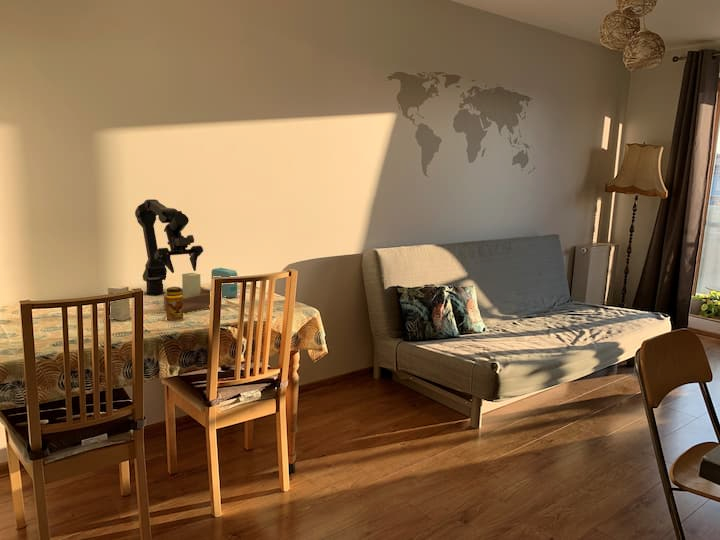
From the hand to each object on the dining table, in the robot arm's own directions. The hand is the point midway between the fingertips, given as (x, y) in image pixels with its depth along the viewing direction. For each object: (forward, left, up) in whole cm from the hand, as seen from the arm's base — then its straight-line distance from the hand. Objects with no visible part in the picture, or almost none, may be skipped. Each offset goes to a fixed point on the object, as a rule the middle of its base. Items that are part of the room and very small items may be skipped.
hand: (184, 271), depth 236 cm
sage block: (+3, +1, -15) cm, 15 cm away
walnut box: (+3, +1, -15) cm, 15 cm away
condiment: (+7, -16, -15) cm, 23 cm away
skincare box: (-10, -25, -15) cm, 31 cm away
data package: (+2, +26, -15) cm, 30 cm away
